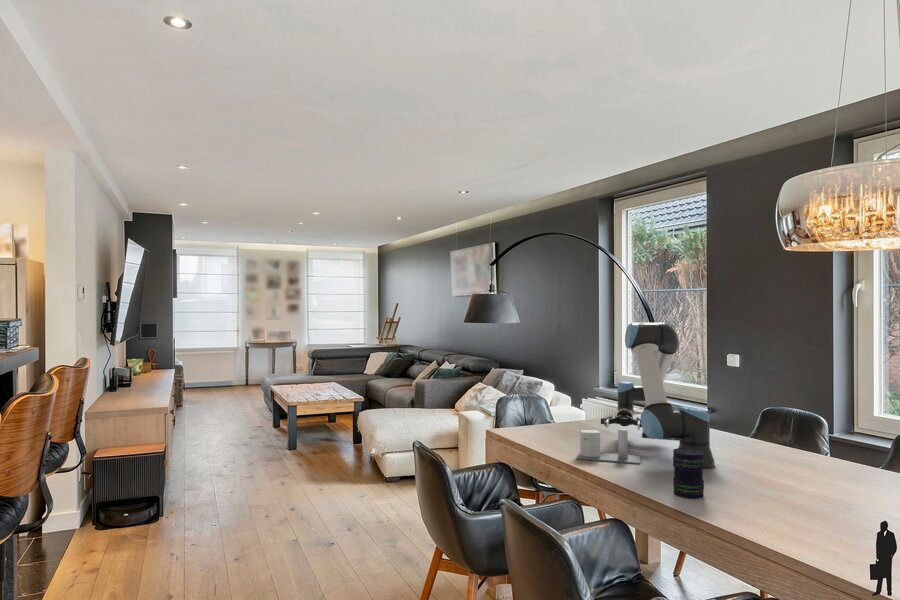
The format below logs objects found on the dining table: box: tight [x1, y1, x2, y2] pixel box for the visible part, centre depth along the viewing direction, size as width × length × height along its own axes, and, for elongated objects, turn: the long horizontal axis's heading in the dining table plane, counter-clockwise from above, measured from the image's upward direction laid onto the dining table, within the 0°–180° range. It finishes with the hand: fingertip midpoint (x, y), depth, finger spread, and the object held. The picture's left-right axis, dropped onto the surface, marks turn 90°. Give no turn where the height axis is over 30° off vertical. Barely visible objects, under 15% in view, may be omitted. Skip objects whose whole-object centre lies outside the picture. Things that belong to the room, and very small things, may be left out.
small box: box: [579, 429, 601, 457], centre depth 252 cm, size 8×6×10 cm
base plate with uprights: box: [576, 428, 641, 465], centre depth 250 cm, size 26×12×13 cm, turn 71°
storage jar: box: [672, 447, 705, 500], centre depth 200 cm, size 10×10×15 cm
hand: (622, 426), depth 259 cm, fingers open, 13 cm apart
